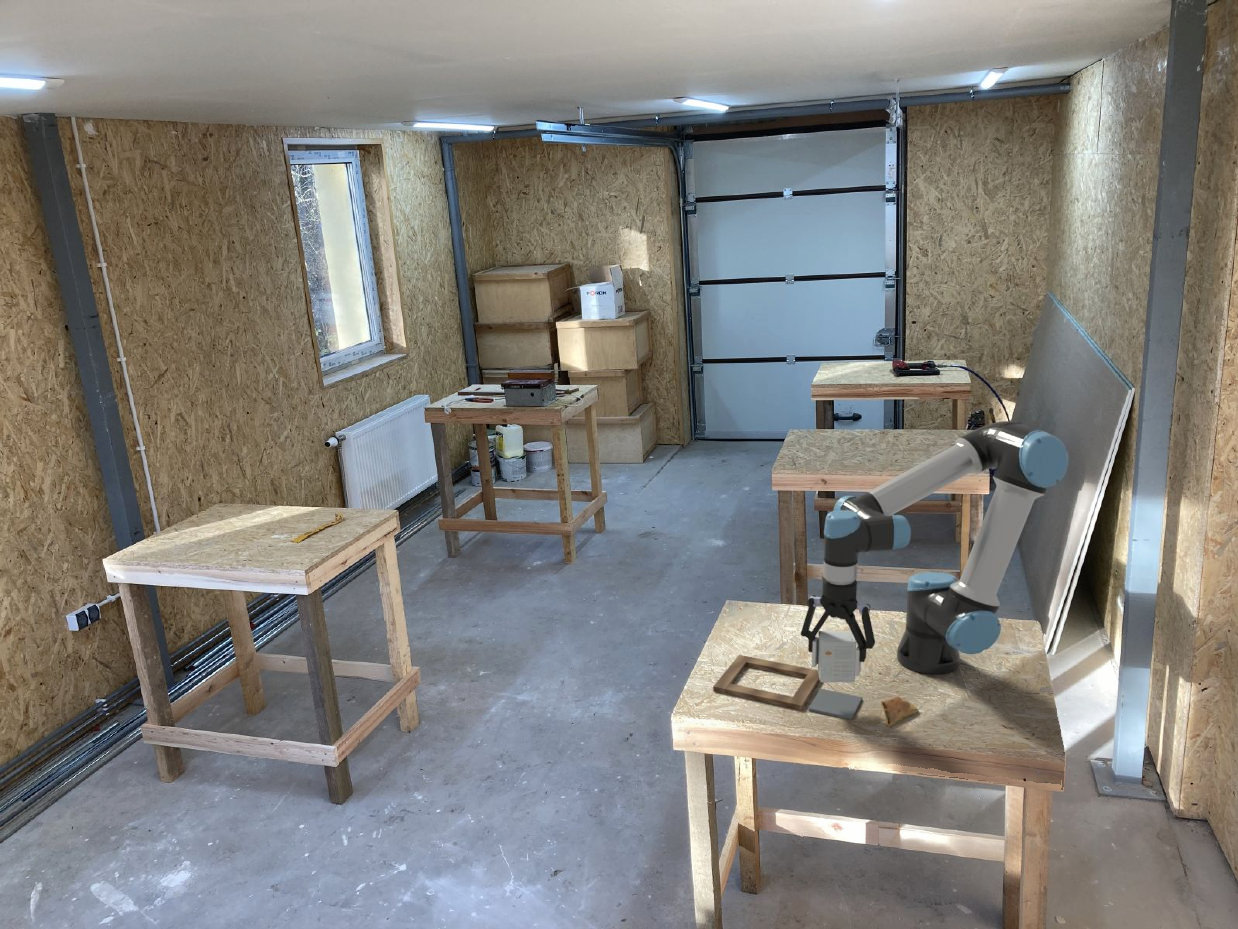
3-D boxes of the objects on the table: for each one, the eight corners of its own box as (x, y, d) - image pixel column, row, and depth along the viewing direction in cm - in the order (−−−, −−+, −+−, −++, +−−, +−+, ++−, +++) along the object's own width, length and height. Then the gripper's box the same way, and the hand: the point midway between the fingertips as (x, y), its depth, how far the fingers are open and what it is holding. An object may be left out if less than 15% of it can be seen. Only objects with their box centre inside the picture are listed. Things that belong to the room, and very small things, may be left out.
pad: (862, 699, 223) (862, 697, 223) (851, 720, 214) (851, 717, 214) (820, 690, 227) (820, 688, 227) (808, 710, 219) (808, 708, 219)
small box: (851, 671, 221) (853, 630, 218) (855, 683, 216) (857, 641, 213) (816, 670, 222) (818, 630, 219) (819, 682, 217) (821, 640, 214)
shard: (888, 730, 211) (888, 722, 210) (861, 716, 217) (862, 709, 216) (919, 714, 217) (919, 707, 216) (892, 701, 223) (892, 694, 222)
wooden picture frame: (822, 675, 235) (822, 671, 234) (801, 710, 219) (801, 705, 219) (739, 659, 244) (739, 654, 244) (713, 690, 229) (713, 686, 229)
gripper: (893, 580, 211) (887, 671, 217) (797, 565, 220) (794, 653, 227) (885, 592, 204) (880, 686, 210) (787, 577, 214) (785, 666, 220)
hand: (836, 669), depth 218 cm, fingers closed on small box, 9 cm apart
